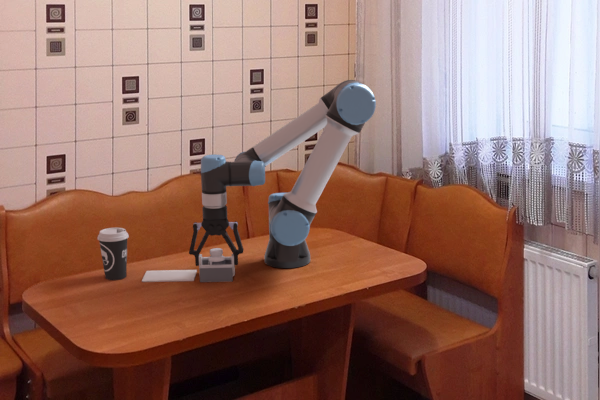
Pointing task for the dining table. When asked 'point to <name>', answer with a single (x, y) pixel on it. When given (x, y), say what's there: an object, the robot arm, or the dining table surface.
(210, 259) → the pill bottle
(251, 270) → the dining table surface
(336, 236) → the dining table surface
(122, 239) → the coffee cup
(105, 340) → the dining table surface
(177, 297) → the dining table surface
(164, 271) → the mat
